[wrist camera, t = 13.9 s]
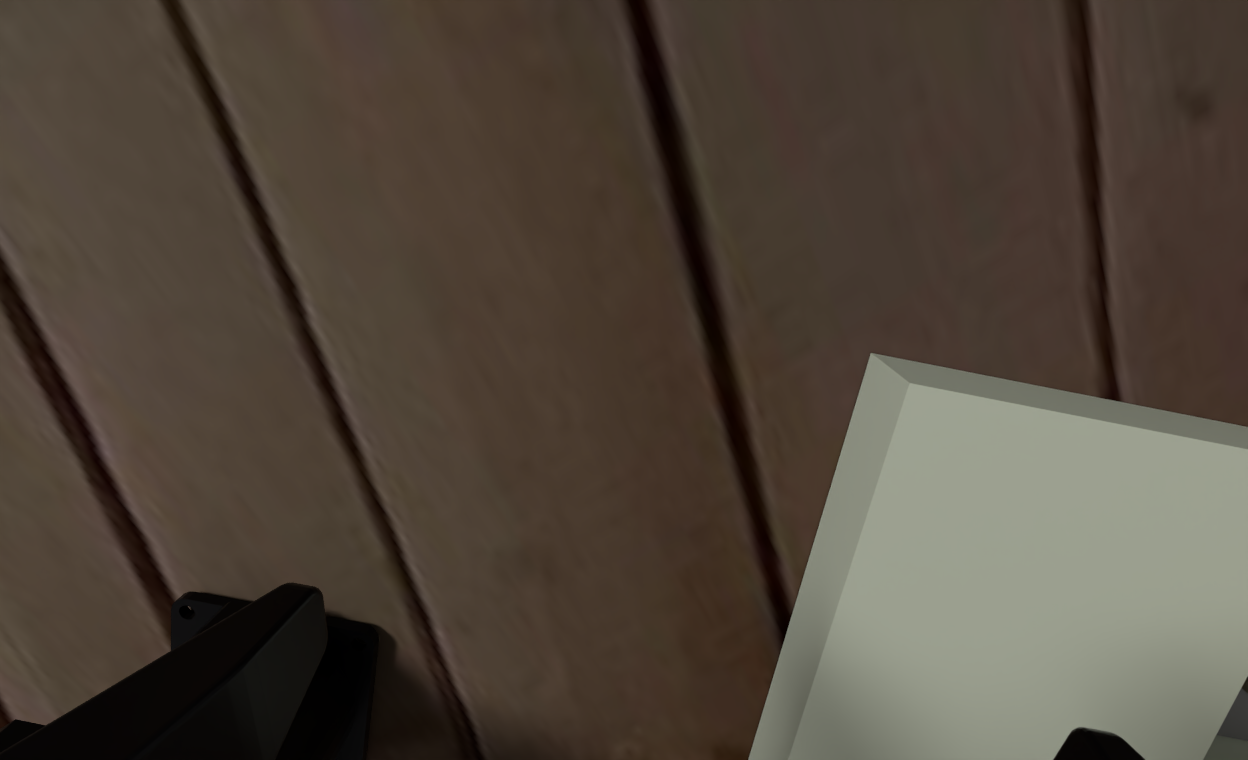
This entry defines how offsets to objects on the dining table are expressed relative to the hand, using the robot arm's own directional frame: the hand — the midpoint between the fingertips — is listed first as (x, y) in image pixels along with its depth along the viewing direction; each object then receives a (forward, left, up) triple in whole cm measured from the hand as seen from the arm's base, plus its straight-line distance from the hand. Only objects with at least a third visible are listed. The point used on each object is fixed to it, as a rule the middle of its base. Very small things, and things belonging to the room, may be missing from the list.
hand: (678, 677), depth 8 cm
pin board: (-6, -16, -12) cm, 21 cm away
